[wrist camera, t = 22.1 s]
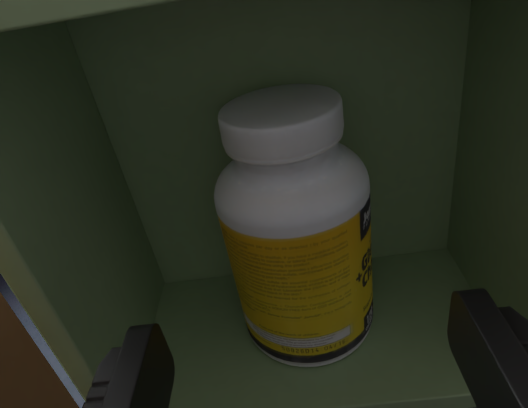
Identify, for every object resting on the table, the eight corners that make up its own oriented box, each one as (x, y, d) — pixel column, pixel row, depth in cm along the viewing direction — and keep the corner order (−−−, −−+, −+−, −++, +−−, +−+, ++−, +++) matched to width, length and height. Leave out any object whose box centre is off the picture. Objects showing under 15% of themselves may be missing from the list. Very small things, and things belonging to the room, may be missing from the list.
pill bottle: (371, 383, 18) (364, 138, 12) (231, 365, 20) (163, 145, 14) (375, 278, 23) (372, 70, 17) (264, 272, 25) (224, 82, 19)
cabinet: (550, 400, 17) (756, -163, 8) (111, 442, 19) (-175, 12, 9) (456, 249, 26) (498, -112, 16) (157, 285, 27) (33, -25, 18)
